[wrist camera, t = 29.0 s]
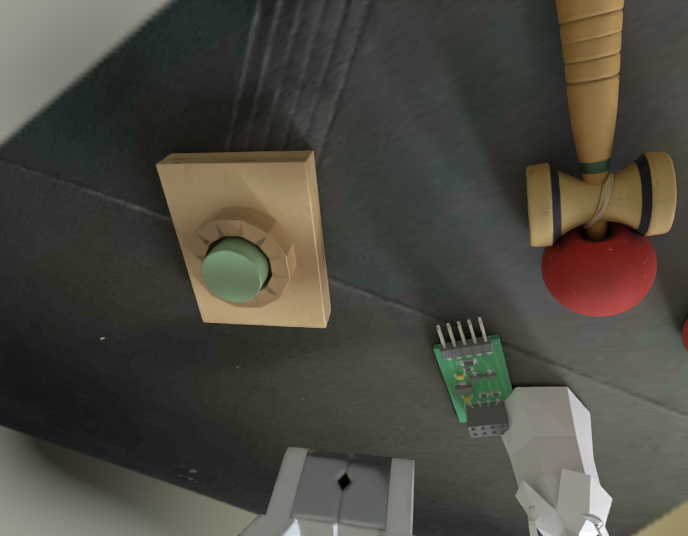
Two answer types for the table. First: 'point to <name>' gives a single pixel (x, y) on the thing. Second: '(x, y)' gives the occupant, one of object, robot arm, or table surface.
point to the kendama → (598, 181)
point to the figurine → (555, 462)
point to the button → (235, 269)
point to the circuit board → (476, 379)
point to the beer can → (685, 334)
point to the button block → (253, 230)
